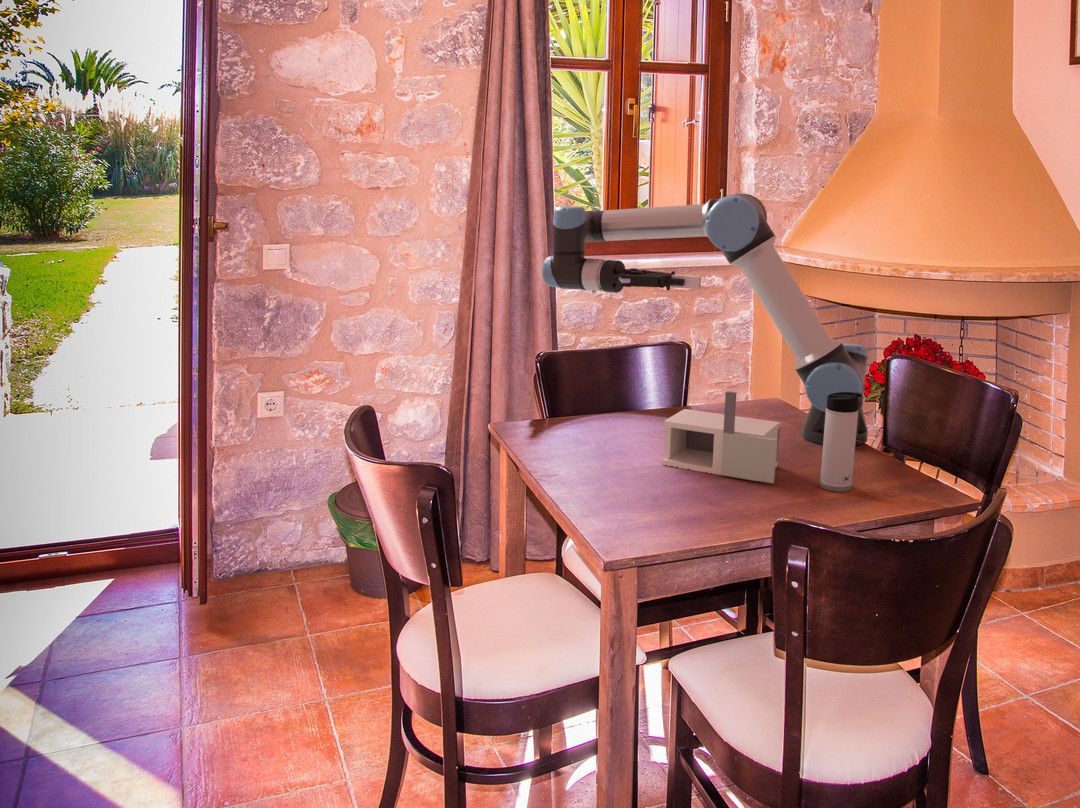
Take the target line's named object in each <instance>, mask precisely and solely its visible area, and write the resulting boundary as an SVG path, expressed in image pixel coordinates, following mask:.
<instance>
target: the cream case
mask: <svg viewBox="0 0 1080 808" xmlns="http://www.w3.org/2000/svg"><path fill="white" fill-rule="evenodd" d="M663 427H665V433H664V434H665V435H664V437H665V438H664V457H663V459H662V461H661V465H662V466H665V465H667V466H666V467H670V466H673V467H672V468H676V467H678V468H677V469H682V468H683V469H682V470H688V469H690V470H689V471H695V472H700V473H701V472H702V473H706V472H707V473H708V474H711V473H712V475H717V476H725V477H729V478H730V477H731V478H733V477H732V476H727V475H721V469H722V450H723V431H724V414H723V413H716V412H710V411H701V410H696V409H688V408H684V409H682V410H680V411H679V412H677V413H675V414H674V415H672V416H669V418H667V419H665V420H663ZM780 427H781V421H773V420H766V419H759V418H754V417H753V418H751V417H745V416H738V415H735V428H734V433H738V434H745V435H752V436H759V437H765V438H772V439H777V448H776V463H775V469H776V468H777V467H778V457H779V443H780ZM707 473H706V474H707ZM734 478H735V479H739V478H738V477H734ZM740 479H741V480H745V479H744V478H740ZM746 480H748V481H752V482H753V481H755V482H757V481H756V480H750V479H746ZM759 482H761V481H759ZM759 482H758V483H759Z"/></svg>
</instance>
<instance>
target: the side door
mask: <svg viewBox="0 0 1080 808" xmlns="http://www.w3.org/2000/svg"><path fill="white" fill-rule="evenodd" d="M737 393H738V392H737V391H729V390H727V391H725V399H724V431H723V450H722V469H721V475H720V476H723V475H727V476H726V477H729V476H732V477H731V478H735V477H738V478H737V479H741V478H744V479H743V480H747V479H750V480H749V481H752V480H756V481H755V482H758V481H760V482H761V483H762V482H763V483H769V484H774V483H775V478H776V477H775V474H776V468H775V463H776V448H777V439H772V438H765V437H759V436H752V435H745V434H738V433H734V428H735V416H736V408H737V407H736V406H737Z"/></svg>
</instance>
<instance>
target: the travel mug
mask: <svg viewBox="0 0 1080 808" xmlns="http://www.w3.org/2000/svg"><path fill="white" fill-rule="evenodd" d="M859 397H860V398H861V394H860V393H857V392H856V393H853V392H838V393H833V394H830V395H828V397H827V406H826V415H825V427H824V440H823V444H822V454H821V468H820V478H819V479H820V480H819V486H820V487H821V488H822V489H824V490H825V489H826V491H828V490H829V492H833V491H834V493H844V492H845V491H846V492H849V491H851V489H852V488H853V487H852V486H853V477H854V476H853V475H854V474H853V473H854V464H855V455H856V453H855V451H856V445H855V442H856V431H857V420H858V405H859Z"/></svg>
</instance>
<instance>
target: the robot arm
mask: <svg viewBox="0 0 1080 808" xmlns="http://www.w3.org/2000/svg"><path fill="white" fill-rule="evenodd" d="M552 224H553V225H552V226H553V227H552V228H553V231H552V232H553V238H552V239H553V242H552V243H553V244H552V245H553V251H552V255H550V256H548V257H546V259H545V260H544V261H543V267H542V269H541V270H542V271H541V274H542V275H541V276H542V278H543V281H544V283H545V285H547V286H548V287H552V288H559V289H562V290H564V289H565V290H577V291H578V290H579V291H580V290H581V291H591V293H592V294H596V292H605V293H615V294H618V293H620V292H621V291H622V290H623V289H624V287H625V288H631V287H635V288H640V287H642V288H660V289H664V288H666V289H665V290H666V291H671V288H677V289H678V288H679V289H688V290H689V289H691V290H692V289H693V290H700V289H701V288H702V275H701V276H698V275H686V274H685V275H683V274H676V271H675V270H674V271H671V272H665V271H664V272H663V271H656V270H655V271H654V270H653V271H652V270H647V269H638V268H629V269H628V268H627V269H626V266H625V264H624V262H623V261H622V260H616V259H604V258H591V257H590V258H589V257H588V258H586V257H585V254H586V248H585V247H586V243H587V244H588V243H597V242H598V243H600V242H615V241H633V240H655V239H656V240H657V239H659V240H660V239H674V238H675V239H677V238H680V239H681V238H699V237H707V238H708V240H709V241H710V242H711V243H712V245H713V246H715V247H716V248H717V249H719V250H720V251H721V252H722V254H723V256H724V258H725V259H726V260H727V262H728V263H729V265H730V266H733V267H737V268H739V269H741V272H742V273H743V274H744V276H745V278H746V279H747V281H748V283H749V284H750V286H751V288H752V290H753V291H754V292H755V294H756V296H757V298H759V301H760V302H761V304H762V305H763V307H764V309H765V310H766V312H767V313H768V315H769V316H770V318H771V320H772V321H773V323H774V324H775V326H776V328H777V329H778V331H779V332H780V334H781V336H782V338H783V339H784V341H785V343H786V344H787V346H788V347H789V349H790V351H791V352H792V354H793V356H794V357H795V363H794V370H795V372H796V373H797V375H798V376H799V379H800V380H801V381H802V383H803V384H804V390H805V394H806V397H807V398H808V400H809V402H810V403H811V405H810V407H809V410H808V412H807V415H806V417H805V420H804V421H803V424H802V428H801V436H802V438H804V439H805V440H807V441H809V442H812V443H816V444H819V445H823V440H824V427H825V415H826V406H827V397H828V395H830V394H833V393H838V392H853V393H856V392H857V393H860V394H861V398H860V397H859V405H858V420H857V431H856V442H855V446H860V445H863V444H866V443H867V441H868V435H869V432H868V431H869V430H868V426H867V422H866V421H867V420H866V419H865V418H866V417H865V414H864V410H863V405H864V404H863V403H864V394H865V393H864V391H865V383H866V382H865V381H866V372H867V371H866V370H867V360H868V358H869V356H868V349H867V347H866V346H865V345H863V344H856V343H849V342H848V343H845V342H842V341H841V340H838V339H834V338H831V337H830V335H829V334H828V332H827V330H826V328H825V327H824V325H823V324H822V322H821V320H820V319H819V317H818V316H817V314H816V312H815V311H814V310H813V307H812V305H810V303H809V301H808V299H807V298H806V296H805V295H804V294H803V293H804V292H803V291H802V290H801V289H800V287H799V285H798V284H797V282H796V280H795V279H794V277H793V276H792V274H791V272H790V271H789V269H788V267H787V265H786V263H784V260H783V259H782V257H781V256H780V255H779V253H778V250H777V249H776V248H775V241H776V238H777V236H776V235H775V233H774V231H773V230H772V228H771V226H770V225H769V223H768V213H767V211H766V207H765V205H764V204H763V202H762V201H760V199H759V198H757V197H755V196H754V195H753V194H749V193H736V194H729V195H726V196H724V197H722V198H711V199H709V200H708V201H706V202H705V203H702V204H687V205H686V204H684V205H671V206H670V205H669V206H656V207H655V206H653V207H636V208H623V209H607V210H586V209H585V207H583V206H579V205H578V206H577V205H575V206H574V205H563V206H561V205H560V206H559V205H558V206H557V207H555V209H554V210H553V219H552ZM857 440H858V441H857ZM859 441H860V442H859ZM861 442H862V443H861Z"/></svg>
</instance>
